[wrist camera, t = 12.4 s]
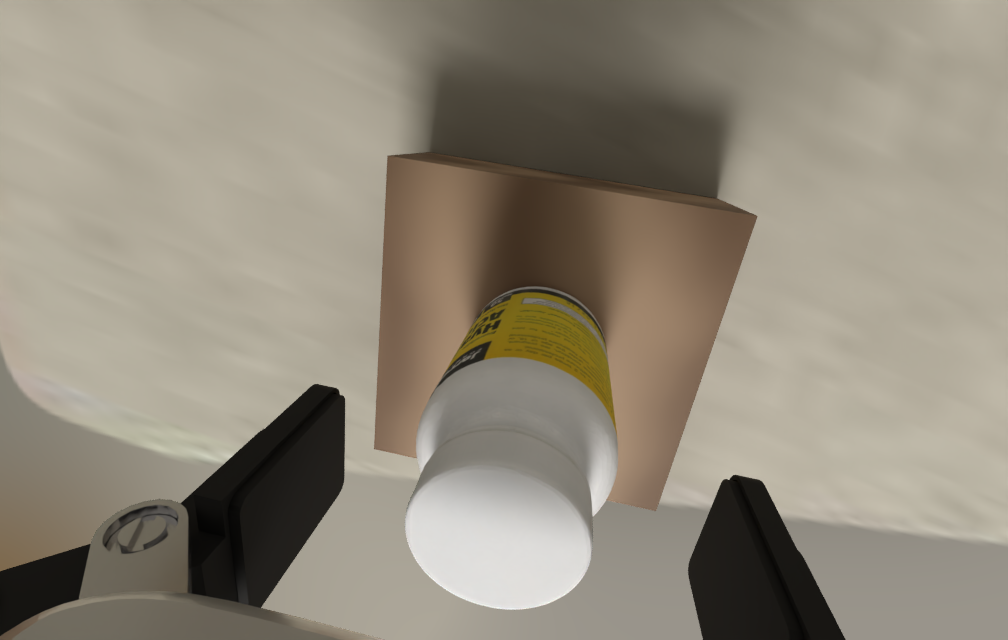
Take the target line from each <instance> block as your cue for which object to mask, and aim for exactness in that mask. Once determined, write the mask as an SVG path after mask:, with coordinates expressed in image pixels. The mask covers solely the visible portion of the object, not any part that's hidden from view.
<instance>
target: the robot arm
mask: <svg viewBox="0 0 1008 640" xmlns="http://www.w3.org/2000/svg"><path fill="white" fill-rule="evenodd" d="M344 454H345V398H344V396H342V395H340V394H339V390H338V389H337V388H332V387H328V386H323V385H319V384H314V385H313V386H311V387H310V388H309V389H308V390H307V391H306V392H305V393H304V394H302V395H301V396H300V397H299V398H298V399H297V400H296V401H295V402H294V403H293V404H291V405H290V406H289V407H288V408H287V409H286V410H285V411H284V412H283V413H282V414H281V415H279V416H278V417H277V418H276V419H275V420H274V421H273V422H272V423H271V424H270V425H269V426H267V427H266V428H265V429H263V430H262V431H260V432H259V433H258V434H257V435H255V436H254V437H253V438H252V439H251V440H250V441H249V442H248V443H247V444H246V445H244V446H243V447H242V448H241V449H240V450H239V451H238V452H237V453H236V454H235V455H233V456H232V457H231V458H230V459H229V460H228V461H227V462H226V463H225V464H224V465H223V466H221V467H220V468H219V469H218V470H217V471H216V472H215V473H214V474H213V475H212V476H210V477H209V478H208V479H207V480H206V481H205V482H204V483H203V484H202V485H201V486H199V487H198V488H197V489H196V490H195V491H194V492H193V493H192V494H191V495H189V496H188V497H187V498H186V499H185V500H184V501H183V502H182V503H178V502H175V501H172V500H163V499H157V500H150V501H144V502H141V503H138V504H135V505H131V506H129V507H127V508H125V509H123V510H121V511H119V512H117V513H115V514H114V515H113V516H111V517H110V518H109V519H107V520H106V521H105V522H104V523H103V524H102V525H101V526H100V527H99V528H98V529H97V530H96V532H95V534H94V536H93V539H92V541H91V544H89V545H86V546H82V547H79V548H75V549H72V550H69V551H66V552H63V553H59V554H56V555H53V556H49V557H46V558H43V559H39V560H36V561H33V562H29V563H26V564H23V565H19V566H16V567H13V568H9V569H6V570H3V571H0V640H384V639H380V638H376V637H372V636H368V635H365V634H360V633H357V632H353V631H349V630H346V629H342V628H338V627H334V626H330V625H326V624H323V623H319V622H315V621H311V620H307V619H304V618H300V617H296V616H291V615H287V614H283V613H279V612H275V611H271V610H267V609H263V608H261V607H262V605H263V603H264V602H265V601H266V599H267V598H268V596H269V595H270V594H271V592H272V591H273V589H274V588H275V586H276V585H277V583H278V581H280V579H281V578H282V576H283V575H284V573H285V572H286V570H287V569H288V567H289V566H290V564H291V563H292V562H293V560H294V559H295V557H296V556H297V554H298V553H299V551H300V550H301V549H302V547H303V546H304V544H305V543H306V541H307V540H308V538H309V537H310V536H311V534H312V533H313V531H314V530H315V528H316V527H317V525H318V524H319V522H320V521H321V520H322V518H323V517H324V515H325V514H326V512H327V511H328V509H329V508H330V506H331V505H332V504H333V502H334V501H335V499H336V498H337V496H338V495H339V493H340V491H341V489H342V486H343V483H344ZM688 575H689V580H690V585H691V589H692V594H693V598H694V602H695V606H696V611H697V615H698V620H699V624H700V628H701V633H702V636H703V640H845V638H844V636H843V634H842V632H841V630H840V628H839V626H838V624H837V622H836V620H835V618H834V616H833V614H832V612H831V610H830V608H829V607H828V605H827V603H826V601H825V599H824V597H823V595H822V593H821V592H820V589H819V587H818V585H817V583H816V581H815V579H814V577H813V576H812V573H811V571H810V569H809V568H808V566H807V564H806V562H805V560H804V558H803V556H802V555H801V553H800V552H799V551H798V550H797V548H796V546H795V544H794V542H793V541H792V539H791V536H790V535H789V533H788V531H787V529H786V527H785V525H784V523H783V521H782V519H781V517H780V515H779V513H778V511H777V509H776V507H775V505H774V503H773V501H772V499H771V497H770V495H769V493H768V491H767V489H766V487H765V485H764V484H763V482H762V481H760V480H757V479H752V478H748V477H743V476H738V475H733V476H732V477H731V478H730V480H727V479H724V480H723V481H722V483H721V485H720V488H719V490H718V492H717V495H716V497H715V500H714V502H713V505H712V507H711V510H710V512H709V514H708V517H707V519H706V522H705V524H704V527H703V529H702V532H701V534H700V537H699V539H698V541H697V544H696V546H695V549H694V551H693V554H692V556H691V559H690V562H689V567H688Z"/></svg>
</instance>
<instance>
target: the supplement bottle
mask: <svg viewBox="0 0 1008 640" xmlns="http://www.w3.org/2000/svg"><path fill="white" fill-rule="evenodd" d="M416 454H417V460H418V465H419V469H420V472H421V475H420V478H419V481H418V483H417V485H416V488H415V490H414V492H413V494H412V496H411V499H410V501H409V503H408V507H407V510H406V517H405V532H406V536H407V541H408V544H409V547H410V549H411V552H412V554H413V556H414V558H415V560H416V561H417V562H418V564H419V565H420V567H421V568H422V569H423V571H424V572H425V573H426V574H427V575H428V576H429V577H430V578H432V579H433V580H434V581H435V582H436V583H437V584H439V585H440V586H441V587H443V588H444V589H445V590H447V591H449V592H451V593H452V594H454V595H456V596H458V597H460V598H462V599H465V600H467V601H470V602H473V603H476V604H478V605H483V606H487V607H492V608H499V609H512V610H514V609H527V608H533V607H538V606H541V605H545V604H548V603H551V602H553V601H555V600H557V599H559V598H560V597H562V596H564V595H566V594H567V593H568V592H570V591H571V590H572V589H573V588H574V587H575V586H576V585H577V584H578V583H579V582H580V580H581V579H582V578H583V576H584V575H585V573H586V571H587V569H588V566H589V564H590V560H591V557H592V549H593V516H594V515H595V514H596V513H597V512H598V510H599V509H600V508H601V507H602V505H603V504H604V502H605V501H606V499H607V498H608V496H609V494H610V492H611V489H612V487H613V484H614V481H615V478H616V474H617V468H618V438H617V430H616V422H615V414H614V406H613V398H612V389H611V381H610V372H609V364H608V355H607V348H606V343H605V339H604V335H603V332H602V330H601V327H600V325H599V323H598V322H597V320H596V318H595V317H594V316H593V314H592V313H591V312H590V311H589V309H588V308H587V307H586V306H584V305H583V304H582V303H581V302H580V301H578V300H577V299H576V298H574V297H572V296H570V295H568V294H566V293H564V292H561V291H559V290H555V289H551V288H547V287H537V286H532V287H522V288H517V289H513V290H510V291H508V292H505V293H503V294H502V295H500V296H498V297H496V298H495V299H494V300H492V301H491V302H490V303H489V304H488V305H486V307H485V308H484V309H483V310H482V311H481V312H480V314H479V315H478V316H477V318H476V319H475V321H474V323H473V324H472V326H471V328H470V329H469V331H468V333H467V335H466V336H465V338H464V340H463V342H462V343H461V345H460V347H459V349H458V350H457V352H456V354H455V356H454V357H453V359H452V361H451V363H450V364H449V366H448V368H447V370H446V371H445V373H444V375H443V377H442V378H441V380H440V381H439V383H438V385H437V386H436V388H435V390H434V391H433V393H432V395H431V397H430V399H429V401H428V403H427V405H426V407H425V409H424V411H423V413H422V416H421V419H420V422H419V426H418V430H417V437H416Z"/></svg>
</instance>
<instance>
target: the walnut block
mask: <svg viewBox="0 0 1008 640" xmlns="http://www.w3.org/2000/svg"><path fill="white" fill-rule="evenodd" d="M756 219H757V216H756V215H754V214H752V213H749V212H747V211H745V210H742V209H740V208H738V207H735V206H733V205H731V204H728V203H726V202H724V201H722V200H719V199H716V198H710V197H704V196H698V195H691V194H685V193H679V192H673V191H666V190H660V189H654V188H648V187H642V186H635V185H629V184H623V183H617V182H611V181H604V180H598V179H592V178H586V177H579V176H573V175H567V174H561V173H555V172H548V171H542V170H536V169H530V168H524V167H517V166H511V165H505V164H499V163H492V162H486V161H480V160H474V159H468V158H461V157H455V156H449V155H443V154H437V153H430V152H426V153H414V154H403V155H391V156H388V158H387V180H386V202H385V224H384V246H383V267H382V289H381V311H380V333H379V355H378V377H377V398H376V420H375V442H374V449H377V450H381V451H386V452H390V453H395V454H399V455H404V456H408V457H413V458H417V454H416V437H417V430H418V426H419V422H420V419H421V416H422V413H423V411H424V409H425V407H426V405H427V403H428V401H429V399H430V397H431V395H432V393H433V391H434V390H435V388H436V386H437V385H438V383H439V381H440V380H441V378H442V377H443V375H444V373H445V371H446V370H447V368H448V366H449V364H450V363H451V361H452V359H453V357H454V356H455V354H456V352H457V350H458V349H459V347H460V345H461V343H462V342H463V340H464V338H465V336H466V335H467V333H468V331H469V329H470V328H471V326H472V324H473V323H474V321H475V319H476V318H477V316H478V315H479V314H480V312H481V311H482V310H483V309H484V308H485V307H486V305H488V304H489V303H490V302H491V301H492V300H494V299H495V298H496V297H498V296H500V295H502V294H503V293H505V292H508V291H510V290H513V289H517V288H522V287H532V286H537V287H547V288H551V289H555V290H559V291H561V292H564V293H566V294H568V295H570V296H572V297H574V298H576V299H577V300H578V301H580V302H581V303H582V304H583V305H584V306H586V307H587V308H588V309H589V311H590V312H591V313H592V314H593V316H594V317H595V318H596V320H597V322H598V323H599V325H600V327H601V330H602V332H603V335H604V339H605V343H606V348H607V355H608V364H609V372H610V381H611V389H612V398H613V406H614V414H615V422H616V430H617V438H618V468H617V474H616V478H615V481H614V484H613V487H612V489H611V492H610V494H609V496H608V498H607V499H606V500H608V501H613V502H617V503H622V504H627V505H631V506H636V507H641V508H645V509H649V510H654V511H656V509H657V507H658V504H659V501H660V498H661V495H662V492H663V489H664V486H665V483H666V480H667V478H668V475H669V472H670V469H671V466H672V463H673V460H674V457H675V454H676V451H677V448H678V446H679V443H680V440H681V437H682V434H683V431H684V428H685V425H686V422H687V419H688V416H689V414H690V411H691V408H692V405H693V402H694V399H695V396H696V393H697V390H698V387H699V384H700V382H701V379H702V376H703V373H704V370H705V367H706V364H707V361H708V358H709V355H710V353H711V350H712V347H713V344H714V341H715V338H716V335H717V332H718V329H719V326H720V323H721V321H722V318H723V315H724V312H725V309H726V306H727V303H728V300H729V297H730V294H731V291H732V289H733V286H734V283H735V280H736V277H737V274H738V271H739V268H740V265H741V262H742V260H743V257H744V254H745V251H746V248H747V245H748V242H749V239H750V236H751V233H752V230H753V228H754V225H755V222H756Z"/></svg>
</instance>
